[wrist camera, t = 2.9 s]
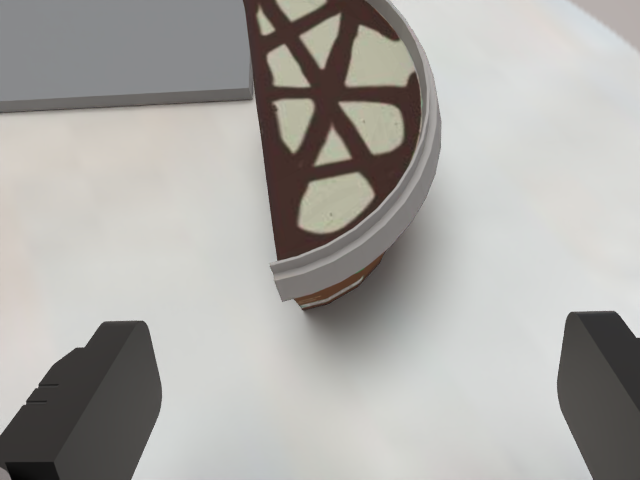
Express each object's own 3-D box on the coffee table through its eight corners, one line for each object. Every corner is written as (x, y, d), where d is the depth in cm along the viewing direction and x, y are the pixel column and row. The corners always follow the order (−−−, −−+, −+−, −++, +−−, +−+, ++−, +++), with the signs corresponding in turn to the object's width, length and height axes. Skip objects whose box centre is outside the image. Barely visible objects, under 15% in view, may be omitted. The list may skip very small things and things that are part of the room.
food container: (447, 320, 25) (495, 247, 16) (307, 343, 25) (271, 284, 16) (392, 83, 29) (405, -88, 20) (273, 104, 29) (229, -57, 20)
